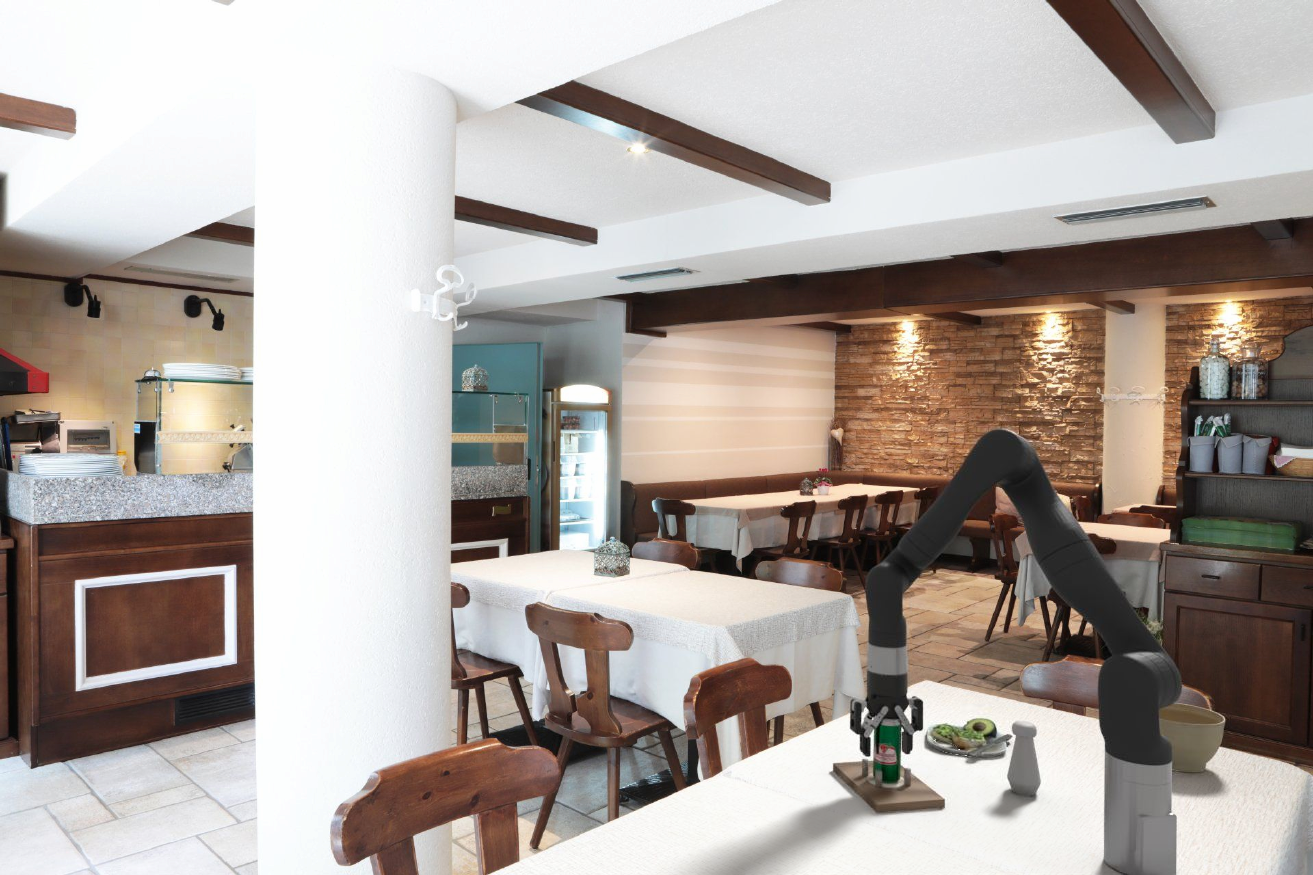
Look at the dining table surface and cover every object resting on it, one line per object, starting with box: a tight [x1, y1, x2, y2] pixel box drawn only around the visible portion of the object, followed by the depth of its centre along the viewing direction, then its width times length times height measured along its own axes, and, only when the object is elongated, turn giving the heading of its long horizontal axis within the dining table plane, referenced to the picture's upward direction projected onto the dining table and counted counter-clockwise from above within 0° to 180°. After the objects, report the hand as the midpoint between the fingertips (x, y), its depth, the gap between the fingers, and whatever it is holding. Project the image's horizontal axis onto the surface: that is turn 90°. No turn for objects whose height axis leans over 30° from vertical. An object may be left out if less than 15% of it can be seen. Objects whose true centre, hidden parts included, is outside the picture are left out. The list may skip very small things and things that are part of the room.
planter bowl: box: [1159, 702, 1226, 773], centre depth 179 cm, size 16×16×11 cm
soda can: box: [872, 718, 902, 784], centre depth 165 cm, size 5×5×12 cm
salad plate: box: [926, 717, 1013, 758], centre depth 189 cm, size 19×18×5 cm
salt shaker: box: [1006, 720, 1042, 797], centre depth 164 cm, size 6×6×13 cm
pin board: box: [832, 758, 946, 814], centre depth 165 cm, size 20×13×4 cm, turn 11°
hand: (886, 753), depth 165 cm, fingers open, 7 cm apart
